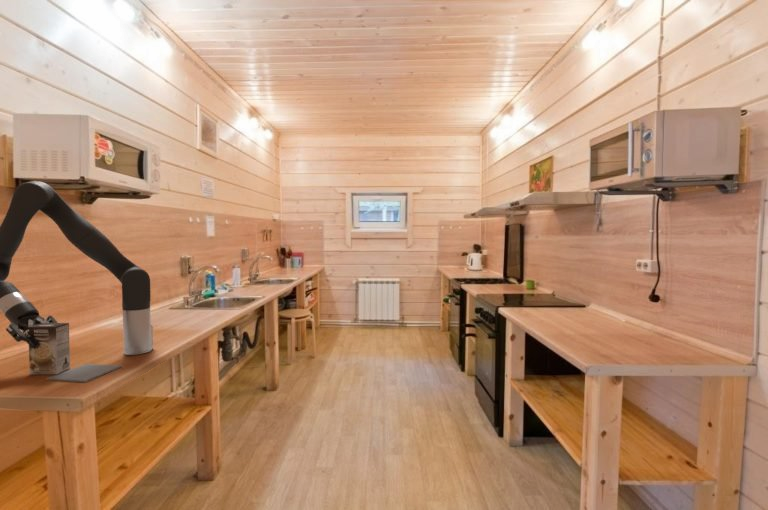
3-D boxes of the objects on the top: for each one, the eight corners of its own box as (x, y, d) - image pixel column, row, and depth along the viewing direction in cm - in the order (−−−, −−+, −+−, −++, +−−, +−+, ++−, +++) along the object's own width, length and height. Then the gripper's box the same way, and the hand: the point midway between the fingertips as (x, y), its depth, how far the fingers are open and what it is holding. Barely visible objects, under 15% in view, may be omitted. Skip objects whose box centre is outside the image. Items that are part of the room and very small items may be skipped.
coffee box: (28, 375, 129) (26, 326, 128) (44, 368, 135) (42, 322, 134) (56, 374, 129) (54, 326, 128) (71, 368, 136) (69, 322, 135)
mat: (86, 365, 138) (85, 363, 138) (121, 367, 136) (121, 365, 136) (46, 380, 124) (46, 378, 124) (85, 382, 122) (85, 380, 122)
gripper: (0, 304, 125) (33, 342, 124) (45, 297, 139) (75, 331, 138) (-13, 320, 126) (20, 358, 125) (33, 312, 140) (63, 345, 139)
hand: (49, 343), depth 132 cm, fingers closed on coffee box, 7 cm apart
